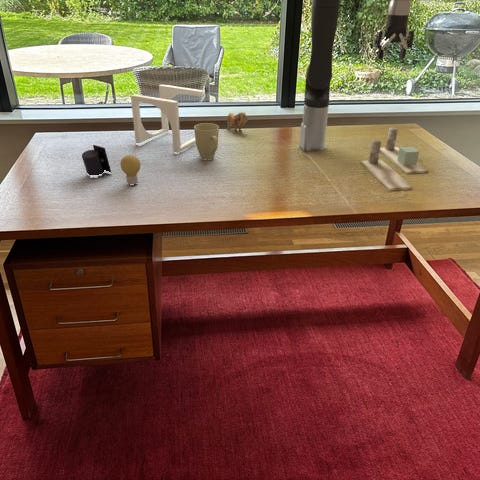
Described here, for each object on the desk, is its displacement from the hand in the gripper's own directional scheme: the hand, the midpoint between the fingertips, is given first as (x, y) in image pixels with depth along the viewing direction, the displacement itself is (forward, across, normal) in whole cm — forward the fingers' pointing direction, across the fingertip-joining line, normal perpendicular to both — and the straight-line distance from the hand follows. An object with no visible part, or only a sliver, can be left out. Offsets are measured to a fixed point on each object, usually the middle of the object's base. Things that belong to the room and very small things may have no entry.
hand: (390, 59), depth 187 cm
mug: (+32, -72, -10) cm, 79 cm away
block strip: (+31, -2, -25) cm, 40 cm away
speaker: (+33, -112, -20) cm, 118 cm away
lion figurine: (+32, -56, +22) cm, 68 cm away
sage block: (+30, -2, -29) cm, 42 cm away
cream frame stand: (+33, -85, +10) cm, 91 cm away
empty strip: (+31, -14, -37) cm, 50 cm away
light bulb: (+32, -100, -29) cm, 109 cm away
